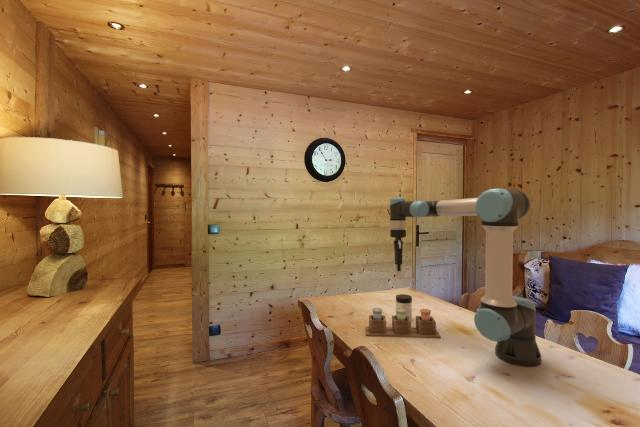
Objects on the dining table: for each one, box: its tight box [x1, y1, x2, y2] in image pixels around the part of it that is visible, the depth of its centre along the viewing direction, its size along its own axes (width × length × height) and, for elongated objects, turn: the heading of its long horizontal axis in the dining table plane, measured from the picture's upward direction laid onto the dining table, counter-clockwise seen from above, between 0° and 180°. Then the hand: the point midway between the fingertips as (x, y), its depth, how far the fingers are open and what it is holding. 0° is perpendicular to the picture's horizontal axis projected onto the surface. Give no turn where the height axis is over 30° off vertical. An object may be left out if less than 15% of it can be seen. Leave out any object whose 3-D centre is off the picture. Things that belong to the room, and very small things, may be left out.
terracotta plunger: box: [419, 308, 432, 321], centre depth 147 cm, size 5×5×7 cm
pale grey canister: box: [371, 307, 383, 320], centre depth 150 cm, size 5×5×7 cm
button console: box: [365, 314, 442, 339], centre depth 148 cm, size 10×33×7 cm, turn 84°
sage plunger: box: [395, 308, 406, 320], centre depth 148 cm, size 5×5×7 cm
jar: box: [395, 294, 413, 322], centre depth 167 cm, size 9×8×12 cm
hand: (398, 277), depth 156 cm, fingers closed
